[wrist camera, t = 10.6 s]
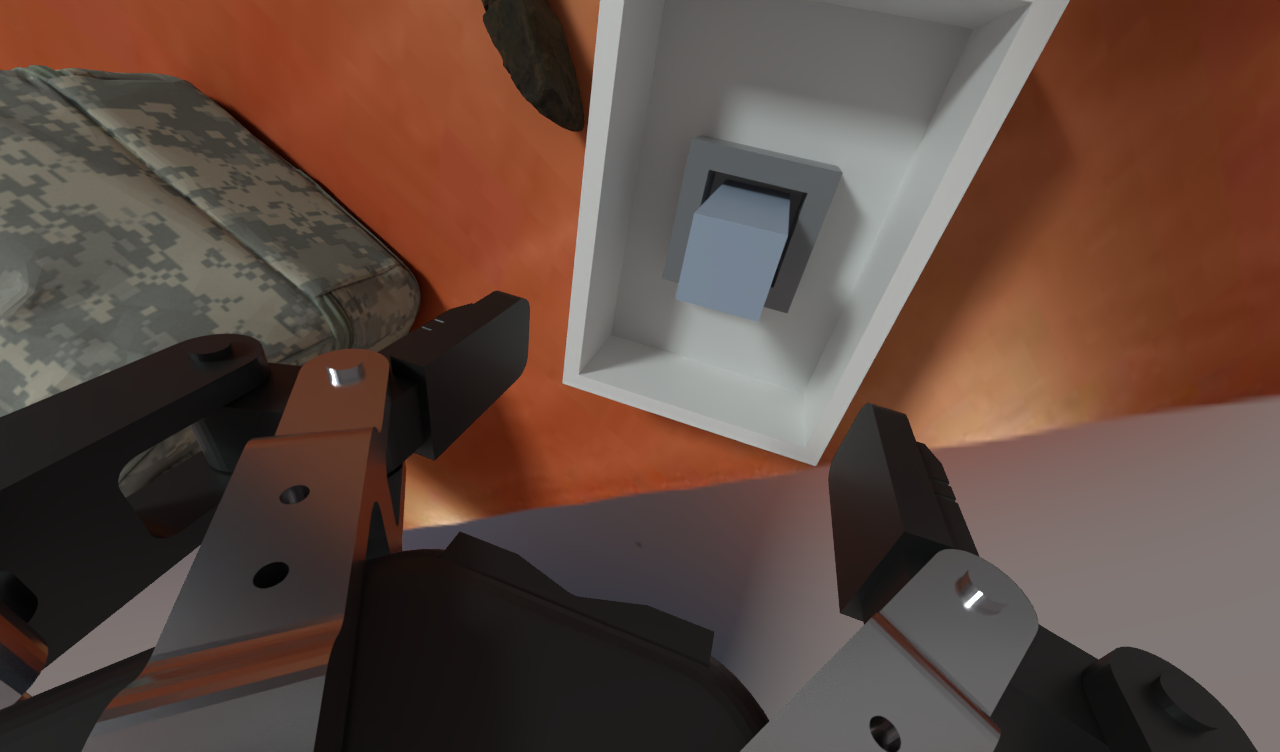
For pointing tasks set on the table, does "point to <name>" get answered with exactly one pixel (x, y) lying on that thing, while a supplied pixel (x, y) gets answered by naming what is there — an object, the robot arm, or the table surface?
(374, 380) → the robot arm
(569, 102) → the hand tool
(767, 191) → the plug
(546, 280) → the table surface
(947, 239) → the table surface
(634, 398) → the walled box
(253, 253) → the lunch bag
